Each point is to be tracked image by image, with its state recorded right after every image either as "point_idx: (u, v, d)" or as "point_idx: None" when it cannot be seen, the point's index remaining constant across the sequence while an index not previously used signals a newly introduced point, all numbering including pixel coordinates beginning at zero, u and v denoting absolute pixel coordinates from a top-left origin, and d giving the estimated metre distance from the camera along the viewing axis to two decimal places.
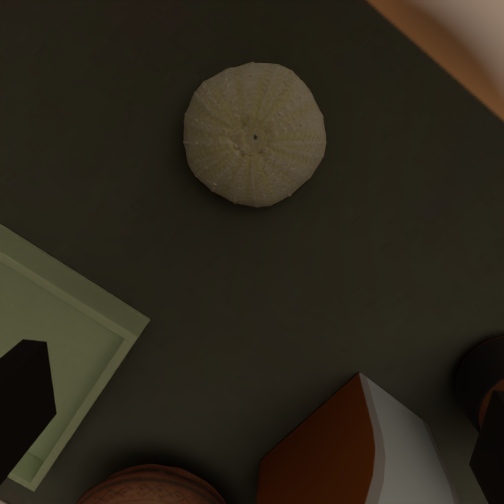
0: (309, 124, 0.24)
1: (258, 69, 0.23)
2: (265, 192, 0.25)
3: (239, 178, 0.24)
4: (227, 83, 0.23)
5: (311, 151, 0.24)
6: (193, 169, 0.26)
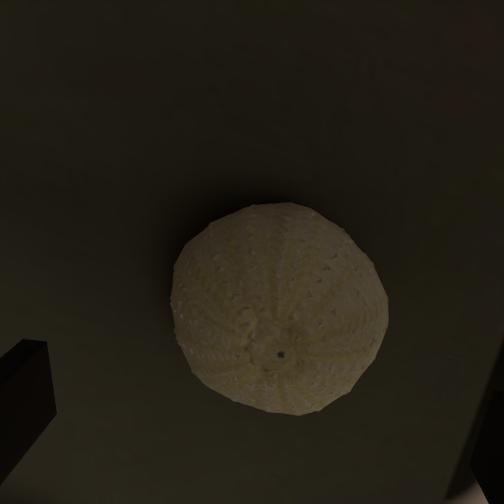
0: (336, 396, 0.16)
1: (371, 292, 0.15)
2: (216, 388, 0.16)
3: (212, 357, 0.15)
4: (331, 267, 0.14)
5: (304, 412, 0.16)
6: (181, 270, 0.15)
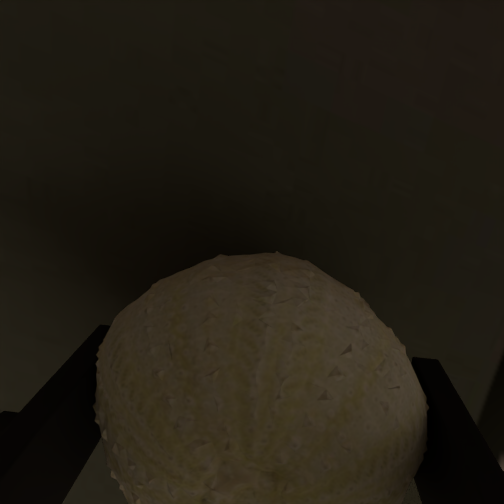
0: None
1: (406, 401, 0.09)
2: None
3: None
4: (342, 368, 0.09)
5: None
6: (103, 363, 0.10)
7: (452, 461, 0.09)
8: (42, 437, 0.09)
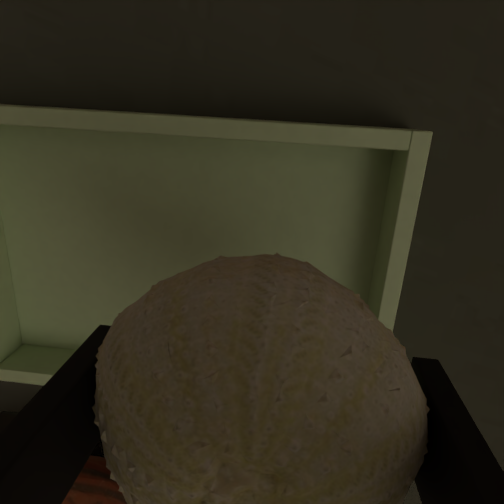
0: None
1: (406, 403, 0.09)
2: None
3: None
4: (342, 370, 0.09)
5: None
6: (103, 365, 0.10)
7: (452, 461, 0.09)
8: (42, 437, 0.09)
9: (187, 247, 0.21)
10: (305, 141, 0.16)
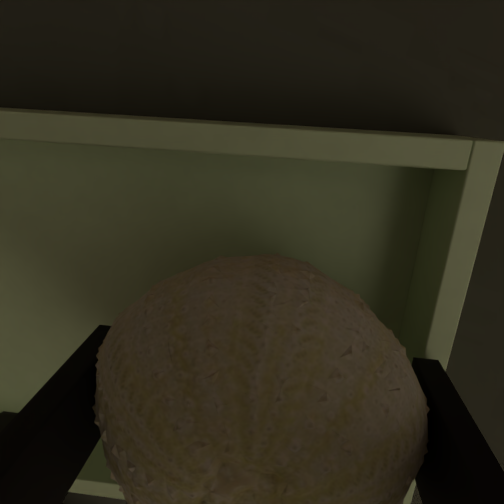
0: None
1: (406, 403, 0.09)
2: None
3: None
4: (342, 370, 0.09)
5: None
6: (103, 364, 0.10)
7: (453, 461, 0.09)
8: (41, 437, 0.09)
9: None
10: (309, 156, 0.11)
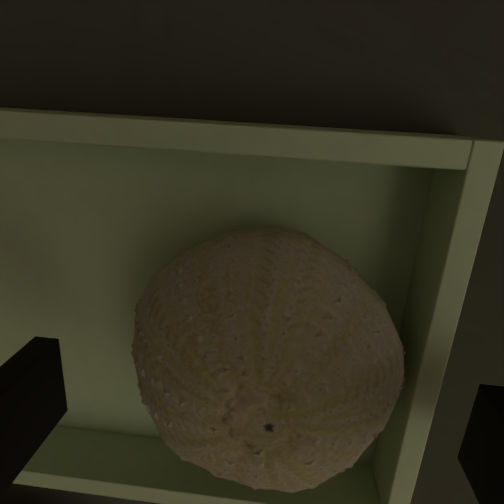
0: (340, 471, 0.12)
1: (385, 343, 0.12)
2: (189, 461, 0.13)
3: (181, 428, 0.12)
4: (333, 314, 0.11)
5: (300, 490, 0.13)
6: (142, 314, 0.12)
7: None
8: None
9: None
10: (309, 155, 0.11)
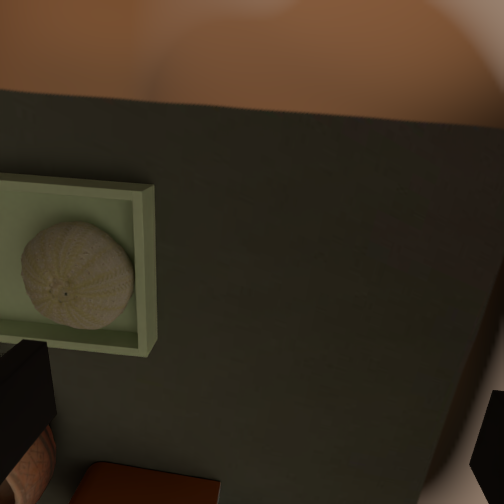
0: (103, 317, 0.32)
1: (113, 264, 0.31)
2: (43, 314, 0.32)
3: (35, 296, 0.31)
4: (88, 252, 0.30)
5: (89, 326, 0.32)
6: (22, 254, 0.31)
7: None
8: None
9: None
10: (78, 195, 0.30)
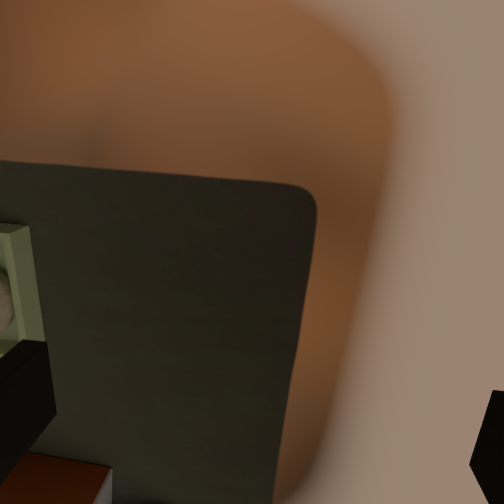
0: None
1: None
2: None
3: None
4: None
5: None
6: None
7: None
8: None
9: None
10: None
